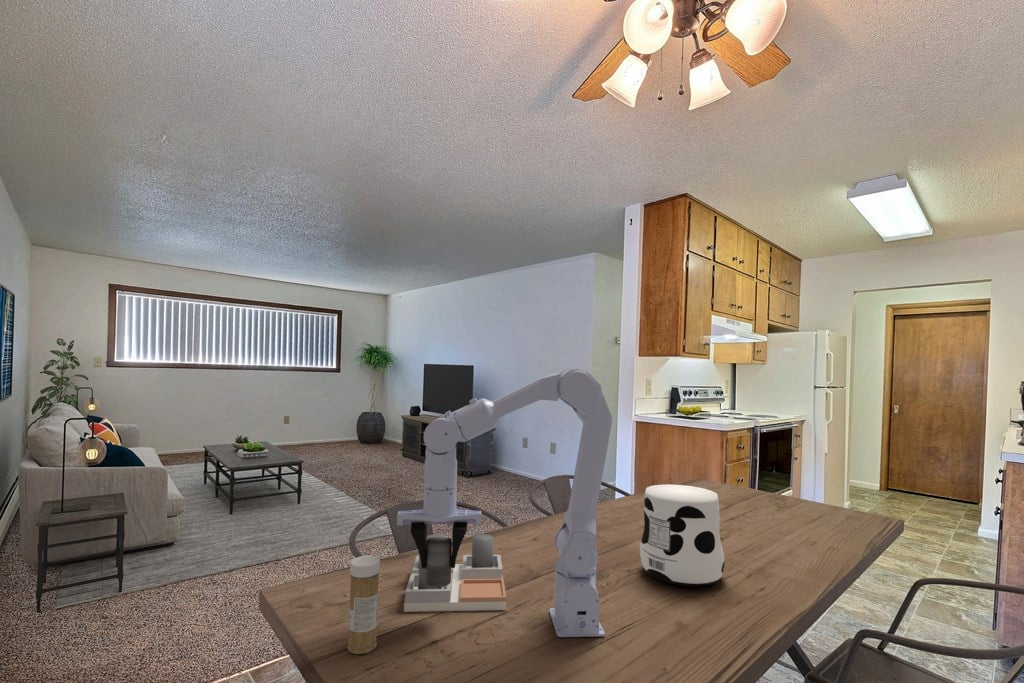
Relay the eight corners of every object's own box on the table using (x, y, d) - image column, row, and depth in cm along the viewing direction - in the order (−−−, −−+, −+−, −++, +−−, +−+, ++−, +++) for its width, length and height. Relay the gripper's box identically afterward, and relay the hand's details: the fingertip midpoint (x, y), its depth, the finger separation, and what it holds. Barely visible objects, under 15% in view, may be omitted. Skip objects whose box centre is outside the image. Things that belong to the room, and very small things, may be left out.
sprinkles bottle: (350, 640, 81) (353, 554, 82) (379, 639, 82) (382, 554, 83) (344, 656, 77) (347, 565, 78) (374, 655, 77) (377, 564, 78)
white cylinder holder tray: (505, 610, 93) (506, 562, 93) (403, 611, 91) (405, 563, 92) (500, 570, 111) (501, 531, 111) (415, 571, 110) (416, 531, 110)
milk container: (719, 566, 116) (718, 486, 117) (730, 599, 99) (729, 505, 100) (640, 558, 120) (640, 481, 121) (638, 587, 104) (638, 497, 105)
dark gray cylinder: (450, 586, 86) (451, 544, 87) (424, 587, 86) (425, 544, 86) (451, 576, 91) (452, 536, 91) (426, 576, 90) (427, 536, 91)
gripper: (481, 482, 94) (480, 557, 93) (402, 482, 93) (399, 558, 92) (481, 490, 87) (480, 572, 86) (396, 491, 86) (393, 573, 85)
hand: (438, 566), depth 89 cm, fingers closed on dark gray cylinder, 4 cm apart
